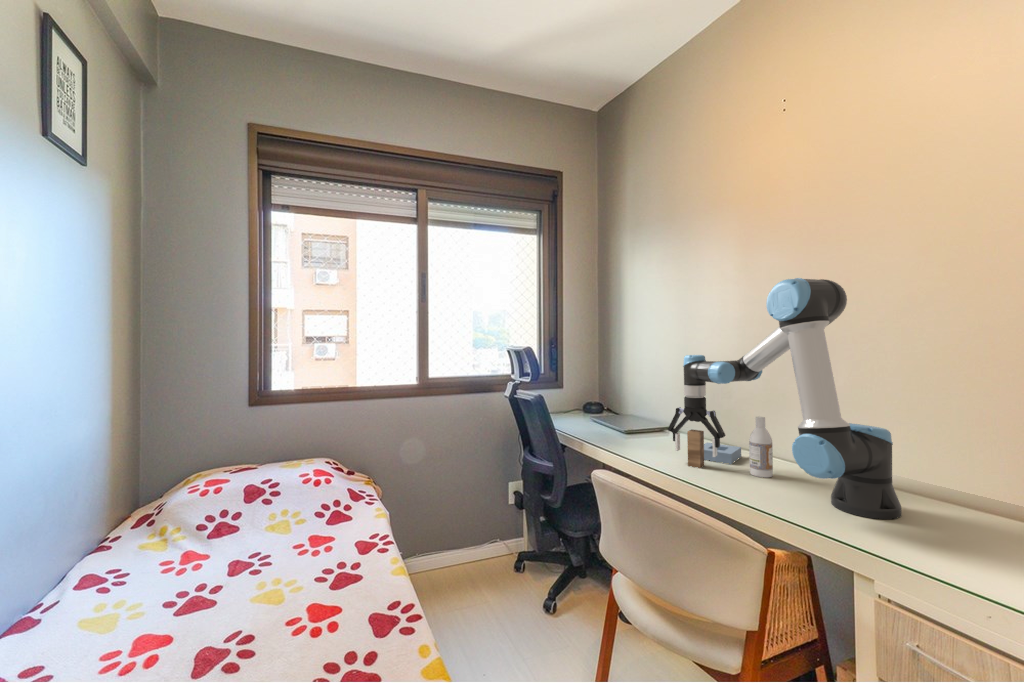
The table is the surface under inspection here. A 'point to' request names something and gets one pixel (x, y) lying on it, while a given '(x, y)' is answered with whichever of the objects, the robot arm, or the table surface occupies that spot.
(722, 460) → the socket block
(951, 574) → the table surface
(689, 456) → the peg
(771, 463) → the bath foam
